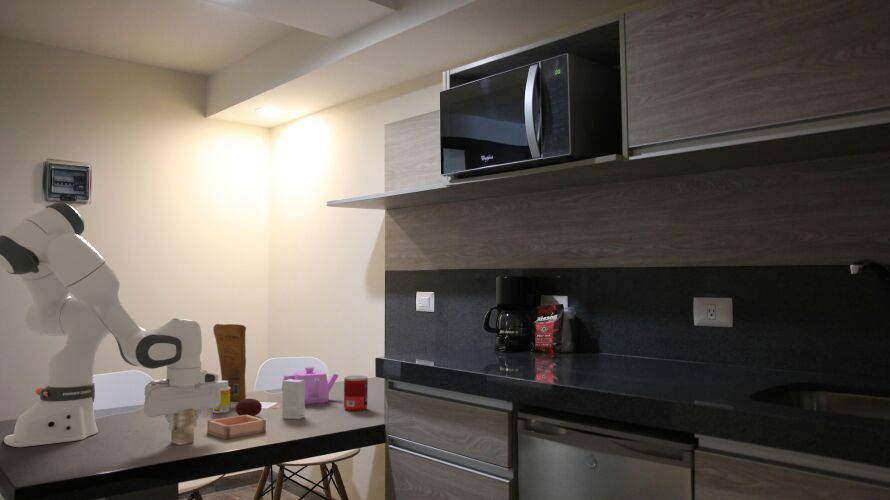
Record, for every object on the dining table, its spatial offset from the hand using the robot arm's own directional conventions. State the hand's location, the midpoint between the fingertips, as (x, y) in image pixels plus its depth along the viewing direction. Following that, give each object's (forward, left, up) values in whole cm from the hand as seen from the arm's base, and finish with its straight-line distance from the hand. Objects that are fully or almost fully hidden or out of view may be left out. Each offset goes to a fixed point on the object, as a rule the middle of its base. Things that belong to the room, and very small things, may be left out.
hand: (182, 428), depth 177 cm
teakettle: (+60, +27, -4) cm, 66 cm away
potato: (+29, +17, -4) cm, 34 cm away
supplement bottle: (+27, +31, -4) cm, 41 cm away
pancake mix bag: (+41, +51, -4) cm, 65 cm away
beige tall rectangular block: (0, 0, -4) cm, 4 cm away
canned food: (+62, +3, -4) cm, 62 cm away
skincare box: (+39, +6, -4) cm, 40 cm away
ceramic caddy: (+16, 0, -4) cm, 16 cm away
